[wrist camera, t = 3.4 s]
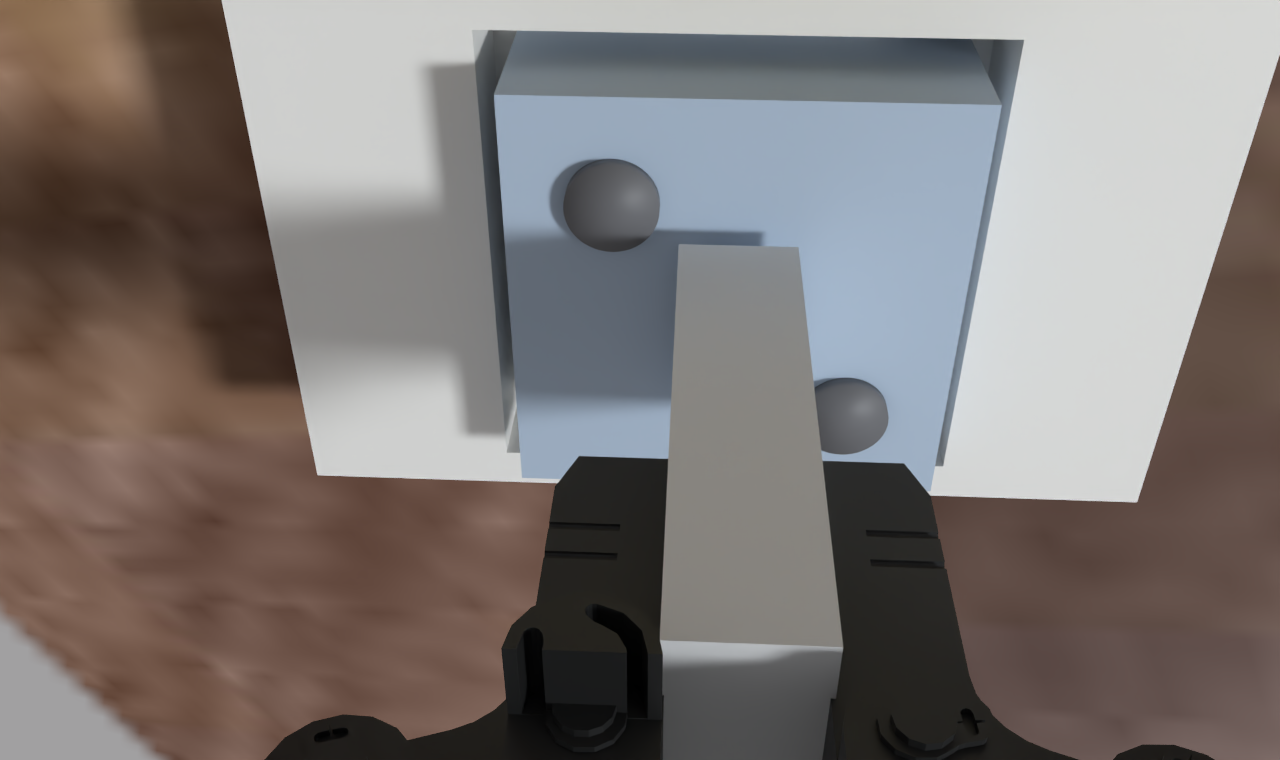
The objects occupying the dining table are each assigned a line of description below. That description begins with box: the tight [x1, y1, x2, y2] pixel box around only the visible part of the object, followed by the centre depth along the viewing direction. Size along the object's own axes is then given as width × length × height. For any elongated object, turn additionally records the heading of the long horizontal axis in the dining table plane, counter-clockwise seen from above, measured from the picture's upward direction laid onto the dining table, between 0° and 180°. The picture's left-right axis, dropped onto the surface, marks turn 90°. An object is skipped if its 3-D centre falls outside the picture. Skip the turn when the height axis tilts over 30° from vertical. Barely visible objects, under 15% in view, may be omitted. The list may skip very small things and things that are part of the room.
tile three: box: [494, 31, 1002, 491], centre depth 17 cm, size 6×6×3 cm
